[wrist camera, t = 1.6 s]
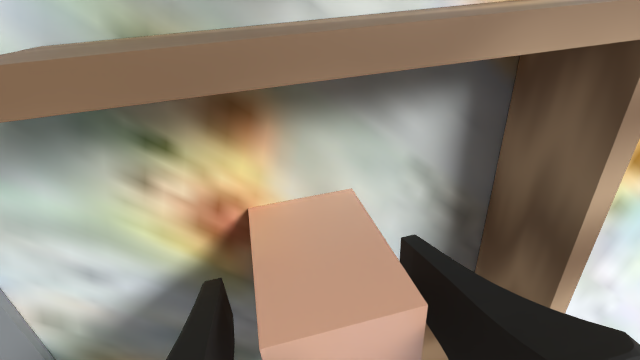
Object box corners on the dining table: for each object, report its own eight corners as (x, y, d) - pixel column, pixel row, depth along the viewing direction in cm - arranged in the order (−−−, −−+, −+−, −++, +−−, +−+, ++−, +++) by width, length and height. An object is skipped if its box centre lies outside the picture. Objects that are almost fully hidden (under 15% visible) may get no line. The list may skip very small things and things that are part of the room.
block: (354, 264, 16) (416, 397, 11) (265, 285, 16) (283, 439, 10) (351, 188, 14) (428, 304, 9) (248, 207, 14) (259, 349, 8)
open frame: (478, 315, 21) (534, 384, 17) (199, 393, 18) (189, 497, 14) (554, -4, 12) (701, -9, 8) (40, 46, 9) (-93, 74, 6)
